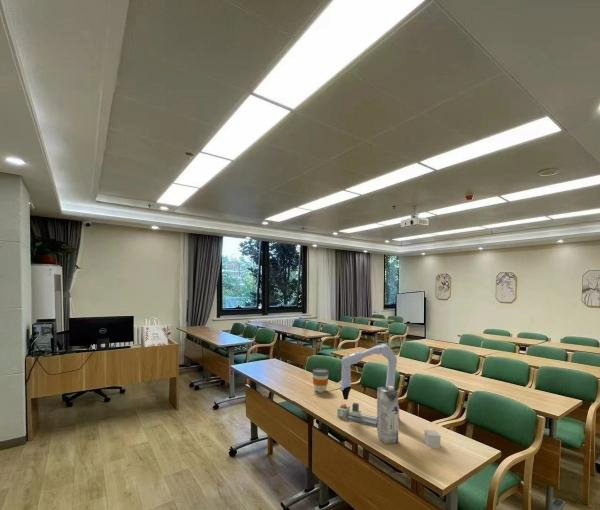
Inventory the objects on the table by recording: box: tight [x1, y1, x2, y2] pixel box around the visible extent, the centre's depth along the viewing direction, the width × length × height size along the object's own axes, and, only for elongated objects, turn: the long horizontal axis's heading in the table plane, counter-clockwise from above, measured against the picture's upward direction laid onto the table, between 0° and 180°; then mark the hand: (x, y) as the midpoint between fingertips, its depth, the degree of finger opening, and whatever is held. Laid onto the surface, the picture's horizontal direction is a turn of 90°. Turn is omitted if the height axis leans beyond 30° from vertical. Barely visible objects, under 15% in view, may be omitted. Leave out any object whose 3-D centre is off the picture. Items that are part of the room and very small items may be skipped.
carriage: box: [350, 402, 362, 417], centre depth 195 cm, size 5×4×7 cm
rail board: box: [344, 411, 377, 427], centre depth 192 cm, size 18×10×3 cm, turn 61°
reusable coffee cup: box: [312, 368, 330, 393], centre depth 247 cm, size 13×13×15 cm
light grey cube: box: [423, 429, 442, 449], centre depth 163 cm, size 6×6×6 cm
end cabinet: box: [336, 404, 351, 419], centre depth 198 cm, size 5×8×5 cm, turn 151°
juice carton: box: [376, 386, 399, 445], centre depth 168 cm, size 9×10×27 cm
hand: (345, 399), depth 198 cm, fingers closed
